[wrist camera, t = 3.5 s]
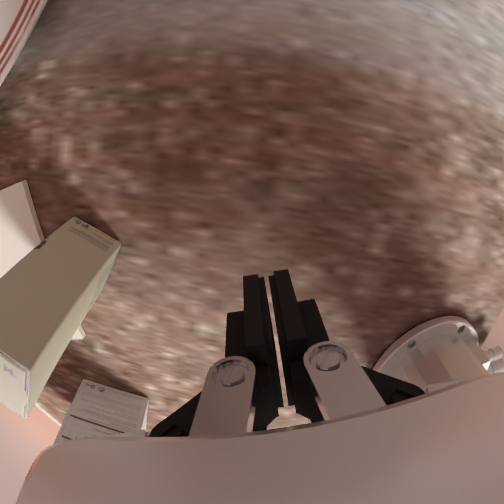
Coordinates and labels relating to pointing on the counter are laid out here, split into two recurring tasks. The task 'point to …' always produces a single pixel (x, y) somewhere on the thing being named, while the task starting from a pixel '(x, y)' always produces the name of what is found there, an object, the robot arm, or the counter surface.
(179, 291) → the counter surface
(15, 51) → the dinner plate
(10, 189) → the beige flat slab
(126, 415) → the supplement box
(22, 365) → the box
